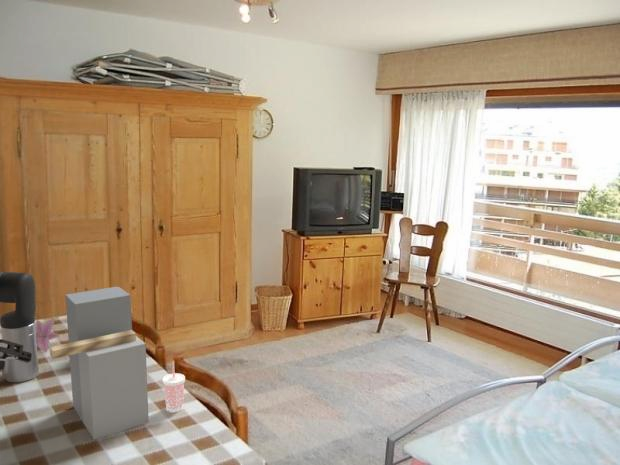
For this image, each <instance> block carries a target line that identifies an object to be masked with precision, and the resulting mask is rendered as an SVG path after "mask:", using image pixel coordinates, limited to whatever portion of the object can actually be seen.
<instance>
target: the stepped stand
mask: <svg viewBox="0 0 620 465" xmlns="http://www.w3.org/2000/svg"><path fill="white" fill-rule="evenodd" d="M131 297H132V296H131V294H129V292H126V291H125V290H124V289H122V288H121V287H119V286H113V287H112V286H111V287H107V288H99V289H94V290H92V289H91V290H87V291H79V292H74V293H68V294H67V293H66V294H65V305H66V306H65V307H66V309H65V310H66V320H67V321H66V322H67V323H66V324H67V335H68V343H71V342H76V341H81V340H86V339H91V338H95V337H100V336H105V335H110V334H114V333H119V332H124V331H129V330H132V331H133V326H132V325H133V322H132V301H131V300H132V299H131ZM146 347H147V346H146V343H145V342H144V341H143V340H142V339H141V338H140V337H138V335H136V341H132V342H127V343H123V344H118V345H114V346H109V347H105V348H100V349H96V350H91V351H87V352H82V353H78V354H73V355H69V366H70V368H69V369H70V379H71V380H70V381H71V395H72V407H73V409H74V410H75V413H76V414H77V415H78V417H79V419H80V420H81V422H82V423H83V425H84V426H85V428H86V430H87V431H88V432H89V434H90V436H91V437H92V439H93V440H98V439H100V438H104V437H107V436H110V435H114V434H115V433H118V432H119V433H120V432H122V431H125V430H128V429H132V428H134V427H138V426H141V425H143V424H148V423H149V422H150V421H149V398H148V395H149V394H148V375H147V374H148V372H147V349H146Z"/></svg>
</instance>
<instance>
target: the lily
mask: <svg viewBox="0 0 620 465" xmlns="http://www.w3.org/2000/svg"><path fill="white" fill-rule="evenodd" d="M55 320H56V319H55V318H51V319H49V320H47V321H46V322H44V323H42V322H41V321H40V320H38V319H37V320H35V330H36V342H37V347H38V349H40V350H41V351H42V352H43V353H47V352H48V348H49V344H50V340H55V339H57V338H59V337H60V335H59V334H58V333H56V332H54V331H52V330H53V326H54V324H55Z"/></svg>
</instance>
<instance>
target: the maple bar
mask: <svg viewBox="0 0 620 465" xmlns="http://www.w3.org/2000/svg"><path fill="white" fill-rule="evenodd" d="M136 336H137V333H136V332H135V331H134V330H133V329H132V330H129V331H124V332H119V333H114V334H110V335H105V336H100V337H95V338H91V339H86V340H81V341H76V342H71V343H69V342H67V343H63V344H57V345H54V346H49V355H50V357H51V358H52V359H53V360H54V359H58V358H59V359H60V358H64V357H67V356H69V357H70V355H73V354H78V353H82V352H87V351H91V350H96V349H100V348H105V347H109V346H114V345H118V344H123V343H127V342H132V341H136Z"/></svg>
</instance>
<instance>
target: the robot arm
mask: <svg viewBox="0 0 620 465" xmlns="http://www.w3.org/2000/svg"><path fill="white" fill-rule="evenodd" d="M0 303H4V304H5V303H6V304H15V310H12V311H9V312H6V313H5V314H2V315H1V317H0V332H1V338H0V371H1V376H2V380H6V381H7V382H9V383H22V382H27V381H30V380H33V379H36V378H37V377H38V376H39V374H40V372H39V371H40V370H39V358H38V357H39V356H38V346H37V342H36V330H35V325H36V320H35V318H36V317H35V316H36V312H37V311H36V310H37V308H36V306H37V305H36V304H37V302H36V282H35V278H34V277H33V275H32V274H31V273H29V272H16V271H15V272H11V271H10V272H9V271H3V270H0Z"/></svg>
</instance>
